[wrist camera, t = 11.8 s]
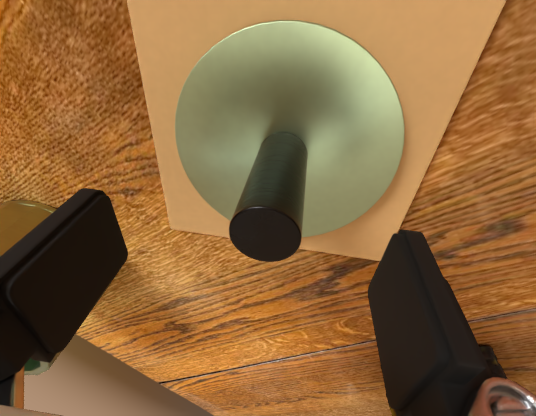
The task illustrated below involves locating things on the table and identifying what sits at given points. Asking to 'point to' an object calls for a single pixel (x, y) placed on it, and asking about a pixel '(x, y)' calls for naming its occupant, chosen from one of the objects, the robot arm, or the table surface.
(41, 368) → the pot
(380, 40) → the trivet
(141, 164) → the table surface
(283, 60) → the lid
